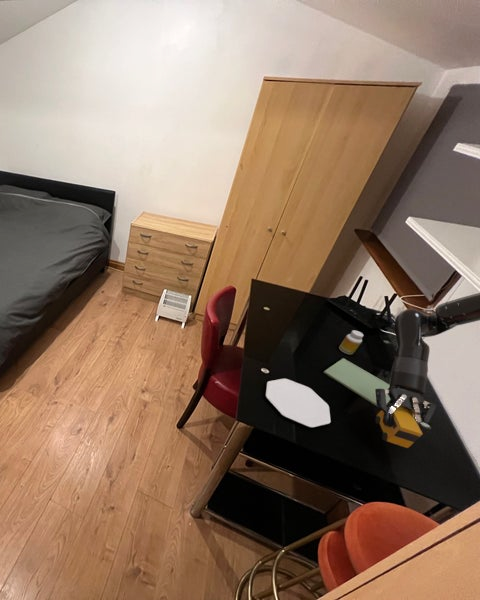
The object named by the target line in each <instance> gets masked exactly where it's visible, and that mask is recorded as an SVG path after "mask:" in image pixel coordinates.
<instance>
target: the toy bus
mask: <svg viewBox="0 0 480 600" xmlns="http://www.w3.org/2000/svg"><path fill="white" fill-rule="evenodd" d="M386 405H387V404H386ZM393 415H394V416H393V421H392V427H387V426H385V425H384V423H383V416H384V412H383V411H382V410H381V409H380V411H379V412H378V413H377V414H376V417H375V419H374V422H375V424H377V425H379V426H380V428H381V430H382V435H381V439H382V441H384V442H388V443H391V444H394V445H397V446H399V447H403V448H406V449H409V448H410V447H411V446H412V445H413V444H414V443H416V442H417V440H419V438H420V437H422V435H423V431H422V430H421V428H420V425H419V426H418V424H417V422H416V421H415V419H414V417H413V415H412V413H410V412H409V411H408V410H407V409H406V408H403V407H401V406H399V408H397V409H396V410H395V411H394V413H393Z"/></svg>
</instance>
